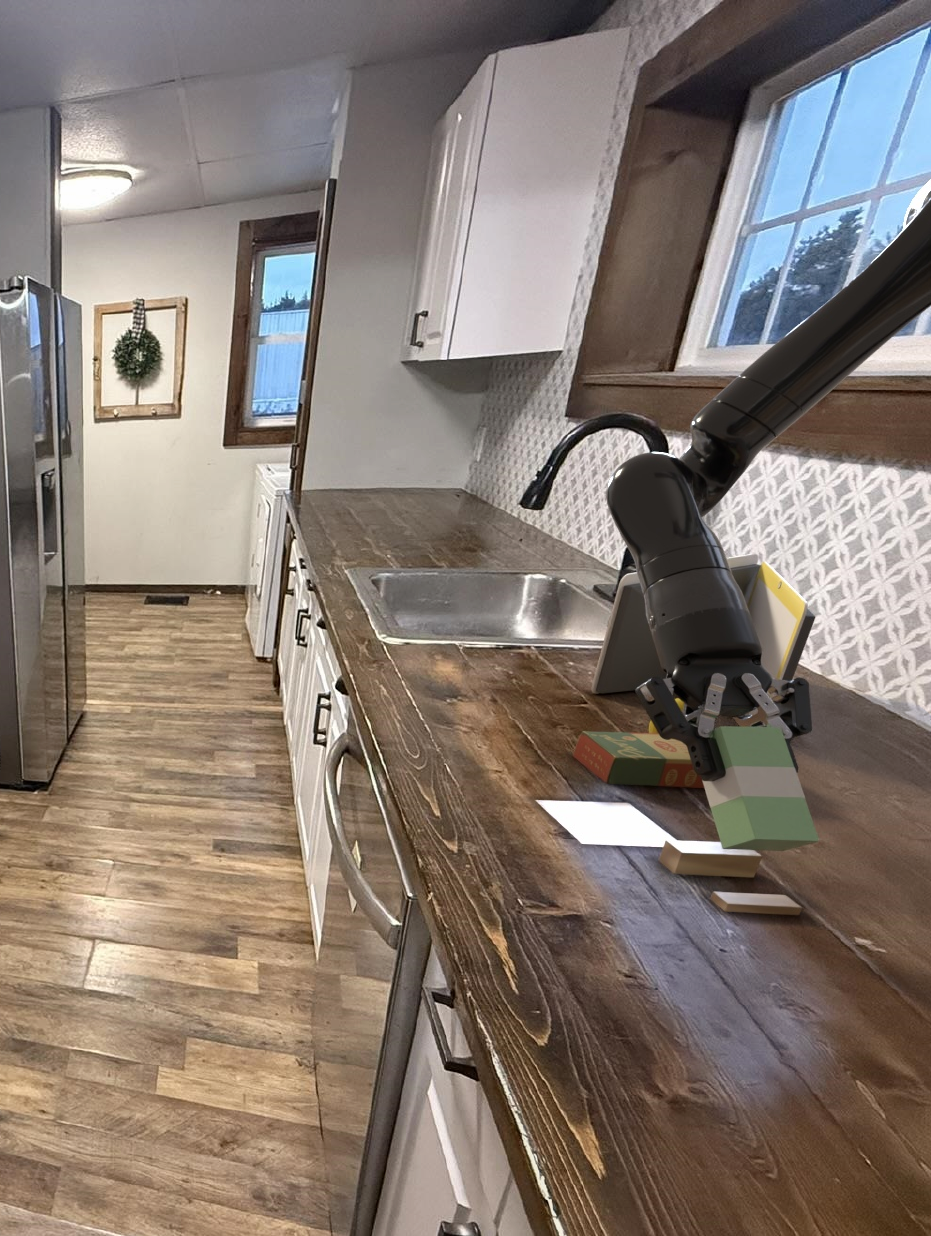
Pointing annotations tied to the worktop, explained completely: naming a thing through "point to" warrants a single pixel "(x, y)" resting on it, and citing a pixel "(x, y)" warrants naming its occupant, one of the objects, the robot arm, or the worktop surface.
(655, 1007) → the worktop surface
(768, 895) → the wooden bars
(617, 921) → the worktop surface
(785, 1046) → the worktop surface
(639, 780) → the carton
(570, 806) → the coaster
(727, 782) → the packet
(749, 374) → the robot arm
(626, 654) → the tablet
